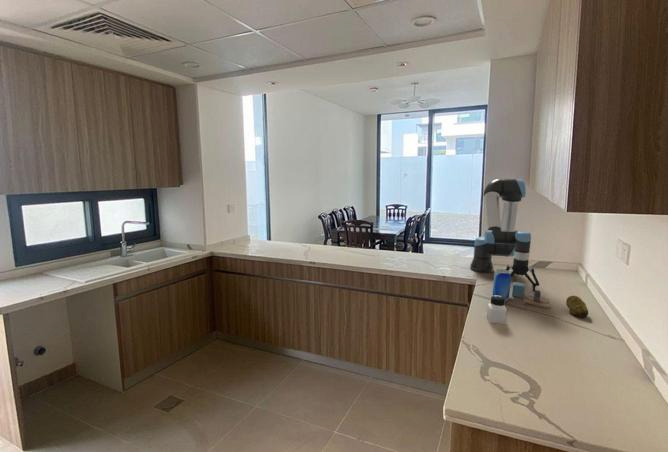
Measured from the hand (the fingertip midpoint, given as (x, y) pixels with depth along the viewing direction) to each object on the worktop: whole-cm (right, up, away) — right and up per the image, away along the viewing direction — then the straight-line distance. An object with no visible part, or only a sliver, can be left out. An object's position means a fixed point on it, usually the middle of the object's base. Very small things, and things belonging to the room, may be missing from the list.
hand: (517, 294), depth 204 cm
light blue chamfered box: (0, 0, 0) cm, 0 cm away
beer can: (-12, -1, -5) cm, 13 cm away
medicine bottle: (-27, -6, -32) cm, 42 cm away
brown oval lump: (+17, -5, -24) cm, 30 cm away
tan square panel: (+5, -2, -11) cm, 12 cm away
